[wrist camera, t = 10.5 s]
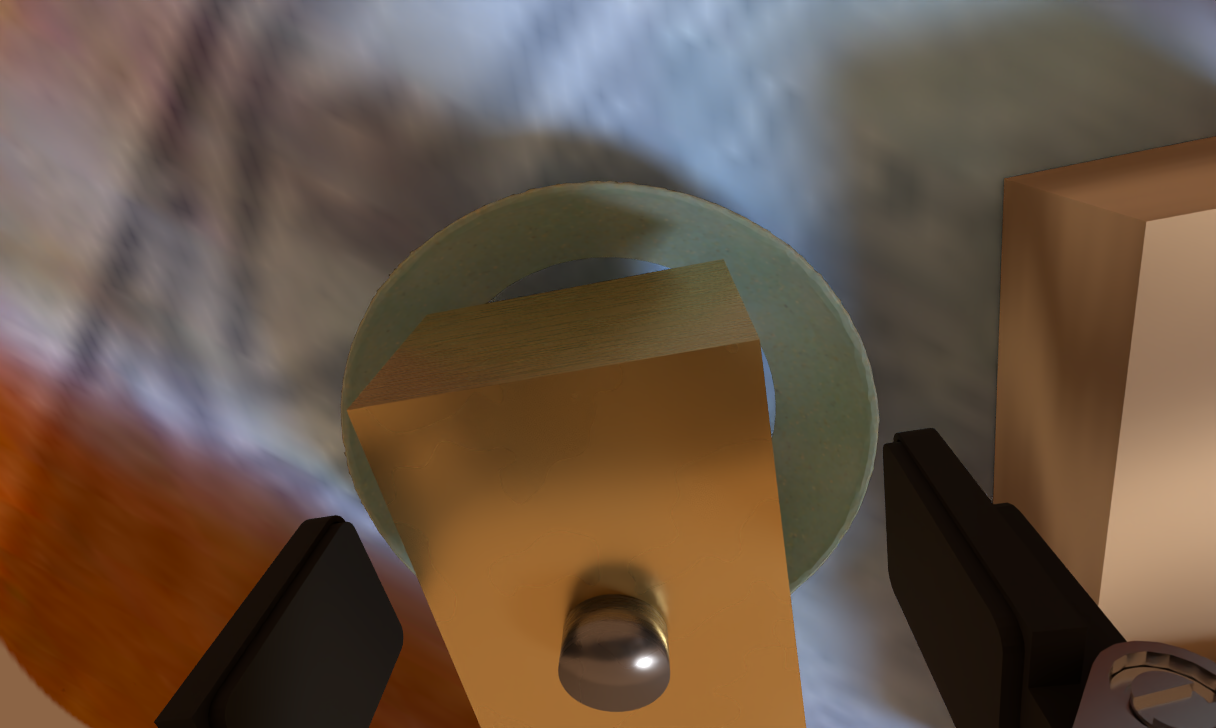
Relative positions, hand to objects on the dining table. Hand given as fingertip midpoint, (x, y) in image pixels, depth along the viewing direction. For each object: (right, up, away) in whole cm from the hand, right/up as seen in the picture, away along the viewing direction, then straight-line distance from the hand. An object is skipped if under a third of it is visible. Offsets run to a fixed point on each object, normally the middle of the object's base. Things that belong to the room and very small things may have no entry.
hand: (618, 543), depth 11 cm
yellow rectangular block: (0, +1, +3) cm, 3 cm away
